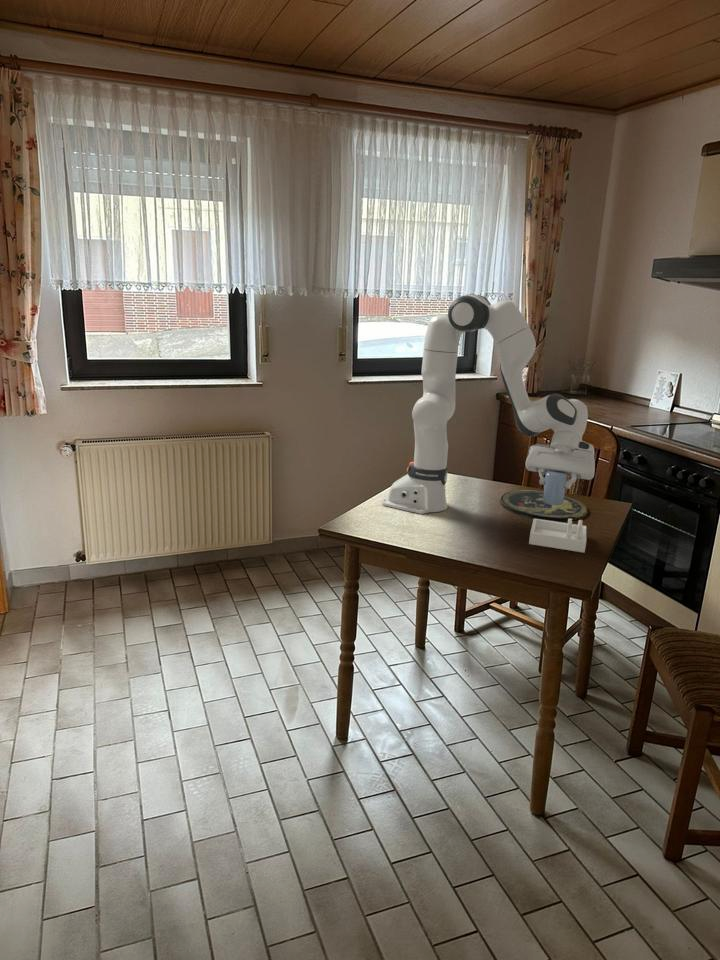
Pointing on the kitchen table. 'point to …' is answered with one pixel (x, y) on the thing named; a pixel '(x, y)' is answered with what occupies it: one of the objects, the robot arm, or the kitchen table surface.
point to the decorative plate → (542, 506)
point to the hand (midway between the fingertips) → (554, 485)
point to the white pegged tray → (558, 535)
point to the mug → (554, 487)
